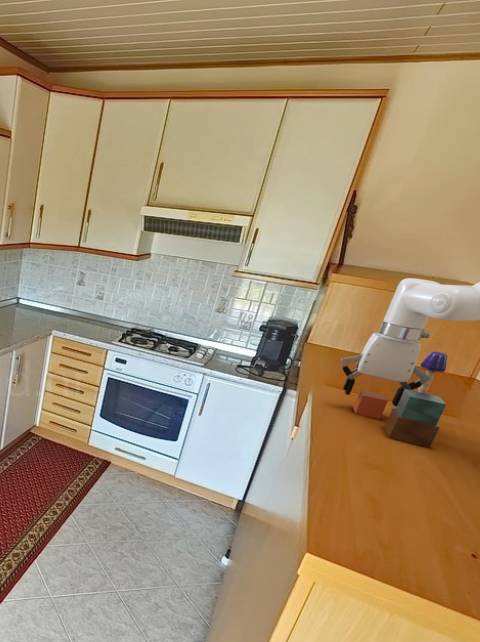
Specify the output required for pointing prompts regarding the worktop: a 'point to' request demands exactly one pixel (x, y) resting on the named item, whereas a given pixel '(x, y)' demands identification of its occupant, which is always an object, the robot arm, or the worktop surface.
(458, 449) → the worktop surface
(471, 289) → the robot arm
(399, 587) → the worktop surface
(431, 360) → the toy lamp
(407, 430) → the block stack
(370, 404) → the toy cube
